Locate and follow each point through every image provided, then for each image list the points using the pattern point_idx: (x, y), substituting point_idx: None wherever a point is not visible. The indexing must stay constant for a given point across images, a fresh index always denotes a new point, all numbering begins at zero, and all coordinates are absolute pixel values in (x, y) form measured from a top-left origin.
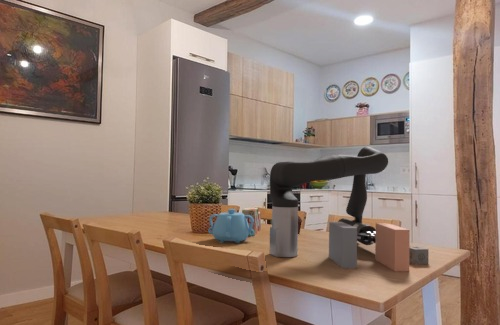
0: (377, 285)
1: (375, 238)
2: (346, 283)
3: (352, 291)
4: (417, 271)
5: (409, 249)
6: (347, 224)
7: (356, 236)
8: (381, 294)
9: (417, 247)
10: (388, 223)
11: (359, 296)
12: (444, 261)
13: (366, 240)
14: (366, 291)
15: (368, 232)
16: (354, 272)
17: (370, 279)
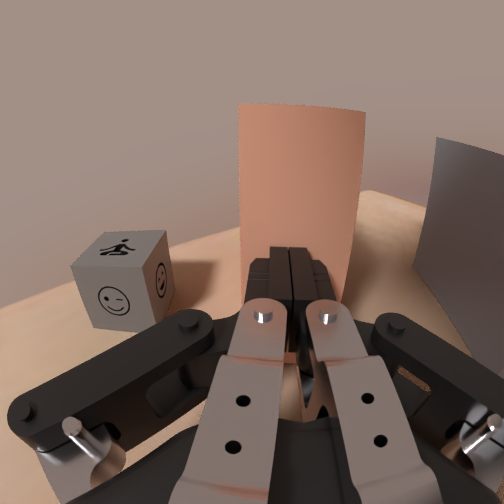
0: (368, 208)
1: (334, 298)
2: (415, 215)
3: (402, 203)
4: (236, 242)
5: (154, 257)
6: (499, 154)
7: (434, 166)
8: (366, 196)
9: (108, 251)
10: (247, 104)
11: (393, 196)
12: (31, 302)
13: (403, 407)
14: (385, 201)
15: (407, 468)
16: (413, 244)
17: (378, 220)
